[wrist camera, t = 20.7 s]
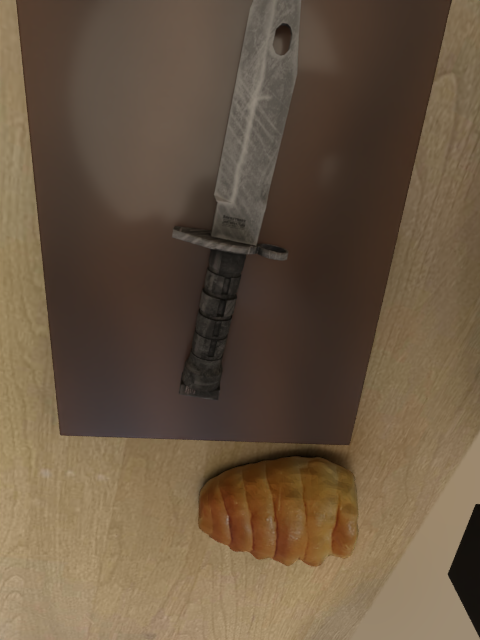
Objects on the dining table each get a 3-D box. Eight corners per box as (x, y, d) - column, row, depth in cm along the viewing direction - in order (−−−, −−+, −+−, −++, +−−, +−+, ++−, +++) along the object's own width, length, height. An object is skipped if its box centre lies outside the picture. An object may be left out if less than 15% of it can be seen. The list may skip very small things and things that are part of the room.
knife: (227, -117, 13) (382, -67, 14) (226, -87, 15) (363, -44, 15) (145, 395, 20) (249, 411, 21) (151, 373, 22) (246, 389, 23)
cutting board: (459, -91, 16) (477, -108, 15) (344, 432, 26) (349, 445, 25) (13, -153, 15) (-3, -175, 14) (66, 421, 24) (59, 435, 23)
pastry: (200, 533, 28) (197, 589, 25) (197, 450, 26) (194, 500, 22) (341, 528, 29) (358, 582, 25) (353, 447, 26) (374, 495, 23)
